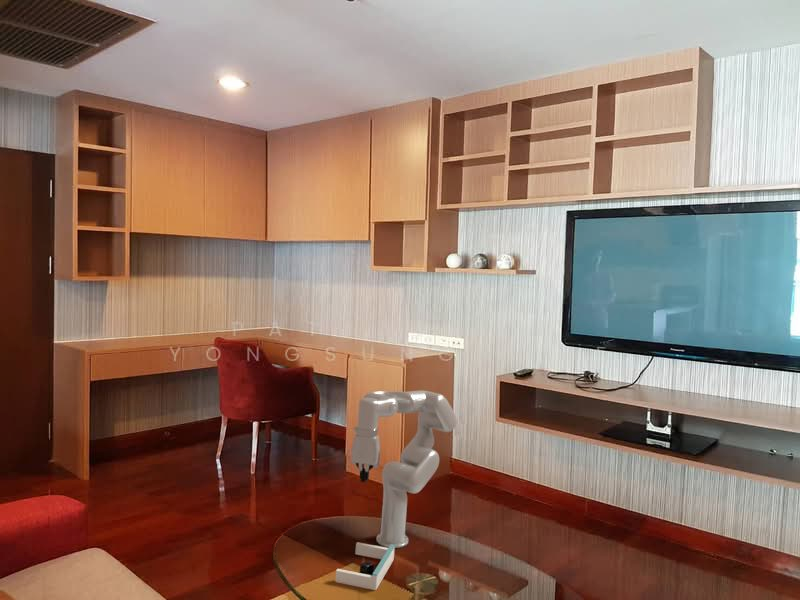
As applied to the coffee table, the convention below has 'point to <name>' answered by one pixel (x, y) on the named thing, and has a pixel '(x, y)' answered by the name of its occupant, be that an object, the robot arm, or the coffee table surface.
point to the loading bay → (378, 574)
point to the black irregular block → (367, 568)
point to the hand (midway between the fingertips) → (363, 480)
